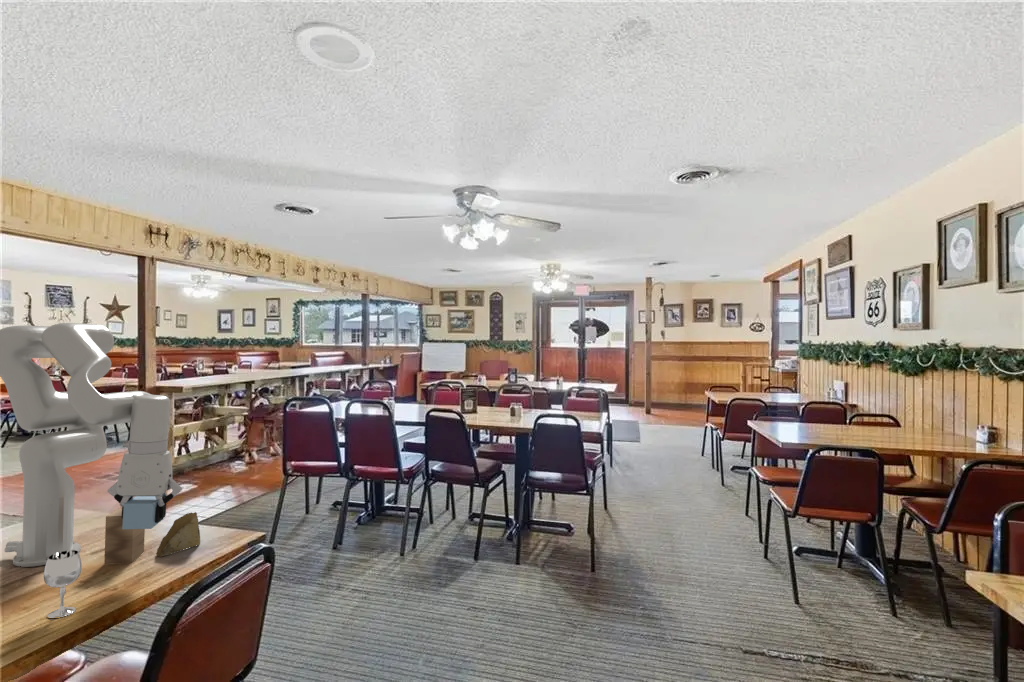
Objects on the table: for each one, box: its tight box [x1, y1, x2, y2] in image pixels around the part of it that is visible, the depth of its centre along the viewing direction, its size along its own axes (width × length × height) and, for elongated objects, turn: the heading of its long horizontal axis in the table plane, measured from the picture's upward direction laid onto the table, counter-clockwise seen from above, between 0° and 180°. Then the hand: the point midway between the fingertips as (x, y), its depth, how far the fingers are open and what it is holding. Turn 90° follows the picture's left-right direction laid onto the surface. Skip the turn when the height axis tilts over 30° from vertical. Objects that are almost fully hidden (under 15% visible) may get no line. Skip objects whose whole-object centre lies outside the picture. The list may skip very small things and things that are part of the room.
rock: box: [155, 511, 201, 558], centre depth 132 cm, size 11×9×10 cm
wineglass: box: [43, 550, 83, 618], centre depth 101 cm, size 6×6×12 cm
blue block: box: [122, 496, 164, 530], centre depth 119 cm, size 6×6×6 cm
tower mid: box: [104, 507, 146, 541], centre depth 126 cm, size 6×6×6 cm
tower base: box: [104, 529, 146, 565], centre depth 126 cm, size 6×6×6 cm
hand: (143, 520), depth 119 cm, fingers closed on blue block, 6 cm apart
